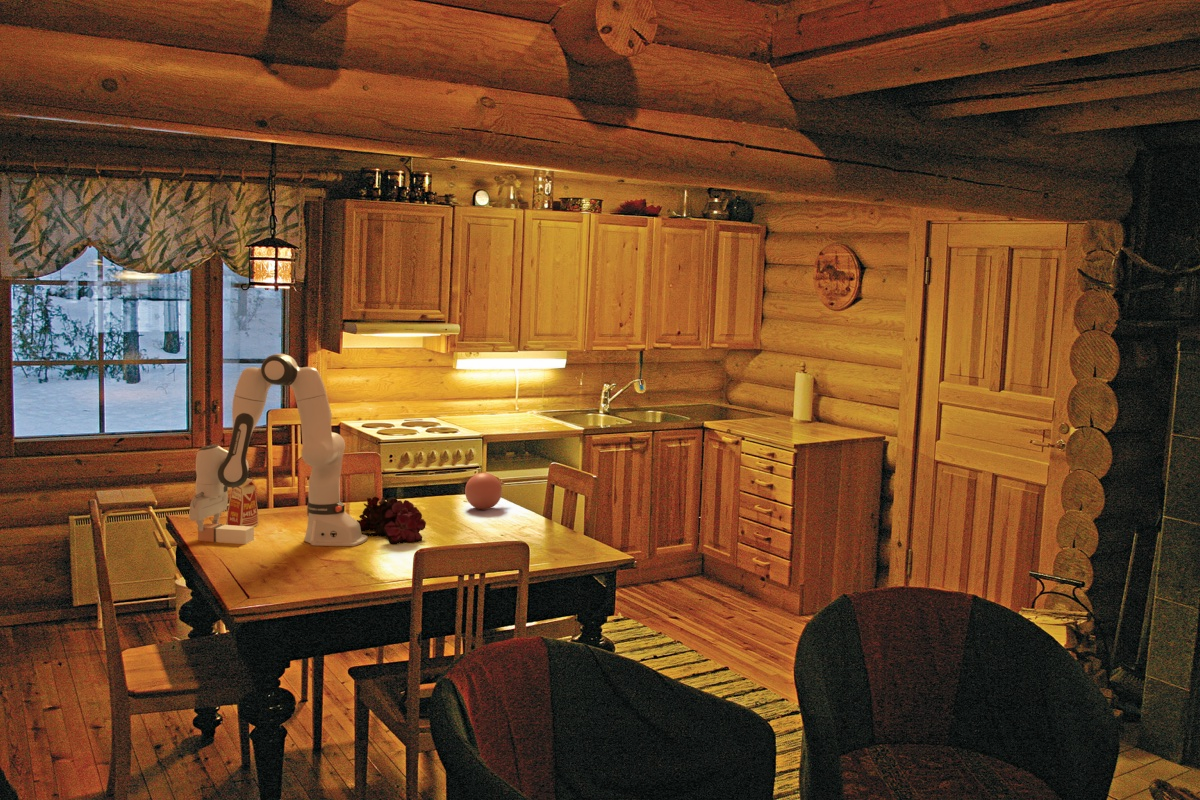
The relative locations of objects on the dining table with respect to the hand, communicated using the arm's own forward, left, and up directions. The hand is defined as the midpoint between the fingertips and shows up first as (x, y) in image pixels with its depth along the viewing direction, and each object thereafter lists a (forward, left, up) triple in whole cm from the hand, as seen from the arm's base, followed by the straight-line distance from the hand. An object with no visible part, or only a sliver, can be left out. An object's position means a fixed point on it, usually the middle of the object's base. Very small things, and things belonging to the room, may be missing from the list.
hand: (208, 527), depth 385 cm
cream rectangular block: (-10, 0, -4) cm, 11 cm away
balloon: (-82, -80, -5) cm, 115 cm away
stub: (-1, 0, -4) cm, 4 cm away
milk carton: (-1, -24, -5) cm, 24 cm away
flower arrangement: (-61, -25, -5) cm, 66 cm away
